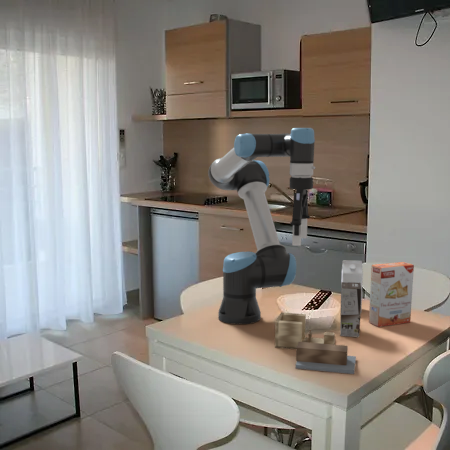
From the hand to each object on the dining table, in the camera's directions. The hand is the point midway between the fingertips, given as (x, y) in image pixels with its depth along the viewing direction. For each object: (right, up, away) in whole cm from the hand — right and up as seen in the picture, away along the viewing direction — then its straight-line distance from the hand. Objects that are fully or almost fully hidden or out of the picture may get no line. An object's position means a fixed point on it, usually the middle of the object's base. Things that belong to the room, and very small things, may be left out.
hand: (299, 241), depth 193 cm
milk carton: (+23, -27, +28) cm, 45 cm away
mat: (+4, -34, -25) cm, 42 cm away
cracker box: (+33, -29, +13) cm, 46 cm away
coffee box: (+17, -30, +3) cm, 35 cm away
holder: (+1, -32, -8) cm, 33 cm away
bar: (+3, -33, -24) cm, 41 cm away
